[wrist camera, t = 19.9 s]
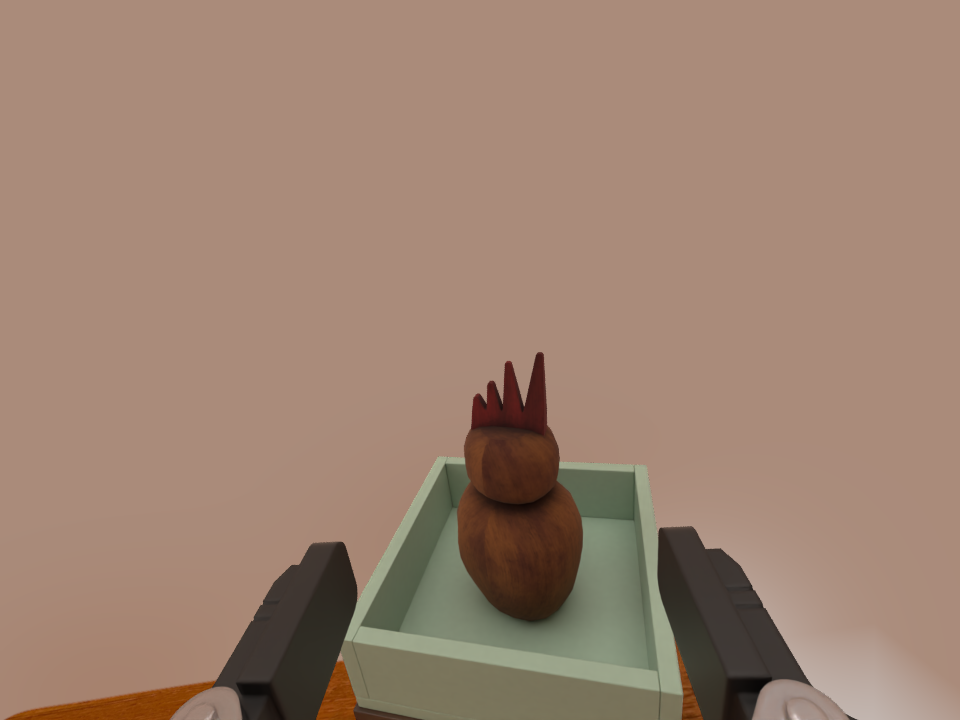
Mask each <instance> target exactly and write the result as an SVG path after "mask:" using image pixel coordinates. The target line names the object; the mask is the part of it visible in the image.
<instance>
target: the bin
mask: <svg viewBox="0 0 960 720" xmlns="http://www.w3.org/2000/svg"><path fill="white" fill-rule="evenodd" d="M556 481H558V482H559V483H560V484H562V485H563V486H564V487H565V488H566V489H567V490H568V491H569V492H570V493H571V495H572V497H573V499H574V501H575V503H576V506H577V508H578V511H579V513H580V516H581V518H582V528H583V548H582V554H581V560H580V565H579V568H578V572H577V576H576V580H575V583H574V587H573V590H572V592H571V593H570V595H569V596H568V598H567V599H566V600H565V602H564V603H563V604H562V606H561V607H560V608H559V610H558V611H556V612H555V613H553V614H552V615H550V616H549V617H547V618H546V619H540V620H534V621H527V620H522V619H517V618H513V617H511V616H509V615H507V614H504V613H502V612H500V611H499V610H498V609H496V608H495V607H494V606H493V605H492V604H491V603H490V602H489V601H488V600H487V599H486V597H485V596H484V595H483V593H482V592H481V591H480V589H479V588H478V587H477V585H476V584H475V583H474V581H473V580H472V578H471V577H470V575H469V574H468V572H467V570H466V568H465V566H464V564H463V562H462V560H461V557H460V551H459V545H458V521H457V509H458V506H459V502H460V499H461V496H462V494H463V492H464V491H465V489H466V487H467V485H468V484H469V483H470V479H469V478H468V475H467V471H466V465H465V458H456V457H449V458H448V457H438V458H437V460H436V462H435V463H434V465H433V467H432V469H431V471H430V472H429V474H428V476H427V478H426V479H425V481H424V483H423V485H422V487H421V488H420V490H419V492H418V494H417V496H416V497H415V499H414V501H413V503H412V505H411V507H410V508H409V510H408V512H407V514H406V515H405V517H404V519H403V521H402V523H401V524H400V526H399V528H398V530H397V532H396V534H395V535H394V537H393V539H392V541H391V542H390V544H389V546H388V548H387V549H386V551H385V553H384V555H383V557H382V558H381V560H380V562H379V564H378V566H377V567H376V569H375V571H374V573H373V575H372V576H371V578H370V580H369V582H368V583H367V585H366V587H365V589H364V591H363V592H362V595H361V596H360V598H359V600H358V601H357V603H356V608H355V612H354V615H353V617H352V620H351V623H350V626H349V628H348V631H347V634H346V637H345V639H344V642H343V645H342V648H341V650H340V651H341V654H342V657H343V660H344V663H345V666H346V669H347V672H348V675H349V678H350V682H351V685H352V688H353V691H354V694H355V696H356V699H357V702H358V705H359V707H363V708H368V709H373V710H378V711H383V712H388V713H393V714H398V715H403V716H408V717H413V718H417V719H422V720H681V718H682V704H683V690H682V684H681V677H680V671H679V665H678V659H677V652H676V646H675V640H674V634H673V632H672V629H671V626H670V623H669V620H668V618H667V615H666V612H665V609H664V606H663V603H662V600H661V597H660V592H659V587H658V579H657V565H658V533H657V527H656V522H655V515H654V508H653V502H652V496H651V490H650V483H649V477H648V471H647V466H646V465H626V464H600V463H576V462H559V471H558V476H557V480H556Z"/></svg>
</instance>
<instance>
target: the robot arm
mask: <svg viewBox="0 0 960 720" xmlns="http://www.w3.org/2000/svg"><path fill="white" fill-rule="evenodd" d="M657 579H658V587H659V592H660V597H661V600H662V603H663V606H664V609H665V612H666V615H667V618H668V620H669V623H670V626H671V629H672V632H673V634H674V637H675V640H676V643H677V646H678V649H679V651H680V654H681V657H682V660H683V663H684V665H685V668H686V671H687V674H688V677H689V680H690V682H691V685H692V688H693V691H694V694H695V696H696V699H697V702H698V705H699V708H700V711H701V713H702V716H703V719H704V720H857V719H854V718H852V717H850V716H849V715H847V714H845V713H844V712H843V710H842V709H841V708H840V707H839V706H838V705H837V704H836V703H835V702H833V701H832V700H831V699H830V698H829V697H827V696H826V695H825V694H823V693H822V692H820V691H819V690H817V689H815V688H814V687H813V686H812V685H811V684H810V682H809V681H808V679H807V678H806V676H805V675H804V673H803V671H802V670H801V668H800V666H799V665H798V663H797V661H796V659H795V658H794V656H793V654H792V653H791V651H790V649H789V648H788V646H787V644H786V643H785V641H784V639H783V637H782V636H781V634H780V633H779V631H778V629H777V627H776V626H775V624H774V622H773V620H772V619H771V617H770V615H769V614H768V612H767V610H766V609H765V608H763V604H762V602H761V600H760V598H759V597H758V595H757V593H756V592H755V591H754V590H753V588H752V585H751V583H750V581H749V580H748V578H747V576H746V575H745V573H744V571H743V570H742V568H741V566H740V565H739V564H738V563H737V562H735V561H734V560H733V559H732V558H731V557H730V556H729V555H727V554H726V553H725V552H724V551H723V550H721V549H705V547H704V545H703V544H702V541H701V540H700V538H699V536H698V534H697V532H696V530H695V529H694V528H693V527H692V526H690V527H689V526H688V527H666V528H660V529H659V535H658V565H657ZM356 603H357V584H356V581H355V577H354V574H353V570H352V567H351V563H350V560H349V556H348V553H347V550H346V546H345V544H344V543H343V542H326V543H325V542H323V543H313V544H312V545H311V546H310V547H309V548H308V550H307V552H306V554H305V556H304V558H303V559H302V561H301V563H300V565H291V566H290V567H289V568H288V569H287V570H286V571H285V572H284V573H283V574H282V575H281V576H280V577H279V578H278V579H277V580H276V581H275V582H274V583H273V585H272V587H271V589H270V590H269V592H268V594H267V595H266V597H265V599H264V600H263V605H261V606H260V607H259V609H258V611H257V612H256V614H255V616H254V620H253V621H251V623H250V624H249V626H248V628H247V629H246V631H245V633H244V635H243V636H242V638H241V640H240V641H239V643H238V645H237V647H236V648H235V650H234V652H233V654H232V655H231V657H230V658H229V660H228V662H227V664H226V665H225V667H224V669H223V670H222V672H221V674H220V676H219V677H218V679H217V681H216V682H215V684H214V685H213V687H212V688H210V689H208V690H205V691H203V692H201V693H199V694H197V695H196V696H194V697H193V698H191V699H190V700H189V701H187V702H186V703H185V704H184V705H183V706H182V707H181V708H179V709H178V711H177V712H176V713H175V714H174V715H173V716H172V718H171V719H170V720H316V717H317V714H318V711H319V709H320V706H321V703H322V700H323V698H324V695H325V692H326V689H327V686H328V684H329V681H330V678H331V675H332V673H333V670H334V667H335V664H336V662H337V659H338V656H339V653H340V650H341V648H342V645H343V642H344V639H345V637H346V634H347V631H348V628H349V626H350V623H351V620H352V617H353V615H354V612H355V608H356Z"/></svg>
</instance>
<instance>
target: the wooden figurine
mask: <svg viewBox="0 0 960 720" xmlns="http://www.w3.org/2000/svg"><path fill="white" fill-rule="evenodd" d="M464 455H465V465H466V471H467V475H468V478H469V479H470V483H469V484H468V485H467V487H466V489H465V491H464V492H463V494H462V496H461V499H460V502H459V506H458V509H457V521H458V545H459V551H460V557H461V560H462V562H463V564H464V566H465V568H466V570H467V572H468V574H469V575H470V577H471V578H472V580H473V581H474V583H475V584H476V585H477V587H478V588H479V589H480V591H481V592H482V593H483V595H484V596H485V597H486V599H487V600H488V601H489V602H490V603H491V604H492V605H493V606H494V607H495V608H496V609H498V610H499V611H500V612H502V613H504V614H507V615H509V616H511V617H513V618H517V619H522V620H527V621H534V620H540V619H546V618H547V617H549V616H550V615H552V614H553V613H555V612H556V611H558V610H559V608H560V607H561V606H562V604H563V603H564V602H565V600H566V599H567V598H568V596H569V595H570V593H571V592H572V590H573V587H574V583H575V580H576V576H577V572H578V568H579V565H580V560H581V554H582V548H583V528H582V518H581V516H580V513H579V511H578V508H577V506H576V503H575V501H574V499H573V497H572V495H571V493H570V492H569V491H568V490H567V489H566V488H565V487H564V486H563V485H562V484H560V483H559V482H558V481H556V480H557V476H558V471H559V460H560V457H559V448H558V445H557V442H556V440H555V438H554V435H553V433H552V431H551V429H550V428H549V427H548V426H547V404H546V388H545V370H544V354H543V353H542V352H538V353H537V355H536V358H535V362H534V366H533V371H532V376H531V380H530V385H529V389H528V394H527V398H526V403H525V407H524V405H523V402H522V398H521V394H520V391H519V387H518V383H517V380H516V376H515V373H514V369H513V365H512V362H511V361H507V362H506V363H505V373H504V395H503V404H502V401H501V399H500V396H499V393H498V390H497V387H496V384H495V382H494V381H490V382H489V383H488V385H487V404H486V402H485V401H484V399H483V398H482V396H481V395H480V394H476V396H475V397H474V399H473V408H472V424H471V429H470V431H469V433H468V435H467V437H466V441H465V445H464Z"/></svg>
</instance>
